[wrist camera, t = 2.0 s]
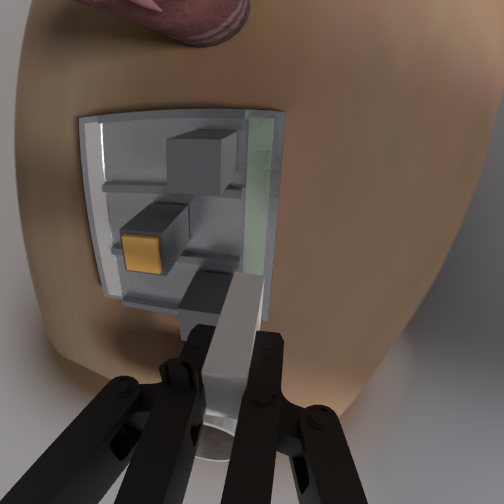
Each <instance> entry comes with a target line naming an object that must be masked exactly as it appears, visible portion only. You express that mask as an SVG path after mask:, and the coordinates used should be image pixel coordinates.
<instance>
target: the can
mask: <svg viewBox="0 0 504 504" xmlns="http://www.w3.org/2000/svg"><path fill="white" fill-rule="evenodd" d="M72 1H76V2H79V3H82V4H86V5H89V6H92V7H95V8H98V9H101V10H104V11H107V12H110V13H113V14H115V15H118V16H121V17H123V18H126V19H129V20H131V21H134V22H136V23H139V24H141V25H143V26H146V27H148V28H151V29H153V30H155V31H158V32H160V33H162V34H164V35H166V36H169V37H171V38H173V39H175V40H177V41H179V42H182V43H184V44H186V45H189V46H193V47H209V46H215V45H218V44H221V43H223V42H225V41H227V40H229V39H231V38H232V37H233V36H234V35H236V34H237V33H238V32H239V31H240V30H241V29H242V27H243V26H244V24H245V23H246V21H247V18H248V15H249V11H250V5H249V0H72Z"/></svg>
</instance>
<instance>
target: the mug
mask: <svg viewBox="0 0 504 504" xmlns="http://www.w3.org/2000/svg"><path fill="white" fill-rule="evenodd" d="M237 420H238V419H231V418H225V417H218V416H212V415H207V414H206V409H205V412H204V416H203V429H202V433H201V437H200V440H199V444H198V448H197V451H196V455H195V457H196V458H199V459H203V460H209V461H217V462H219V461H220V462H227V461H229V460H230V455H231V450H232V445H233V441H234V436H235V430H236V425H237Z"/></svg>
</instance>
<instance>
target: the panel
mask: <svg viewBox="0 0 504 504" xmlns="http://www.w3.org/2000/svg"><path fill="white" fill-rule="evenodd" d="M284 125H285V111H273V110H256V109H229V108H189V109H162V110H145V111H133V112H122V113H112V114H104V115H96V116H88V117H83V118H79V134H80V150H81V162H82V173H83V182H84V190H85V198H86V205H87V212H88V219H89V225H90V231H91V236H92V242H93V247H94V252H95V257H96V262H97V267H98V271H99V276H100V280H101V284H102V288H103V292H104V296H105V297H109V298H114V299H119V300H121V302H122V306H127V307H132V308H137V309H143V310H149V311H154V312H160V313H166V314H172V315H178V311H177V308H178V306H179V304H180V302H181V300H182V298H183V296H184V294H185V292H186V290H187V288H188V287H189V285H190V283H191V281H192V279H193V277H194V275H195V273H196V271H203V272H212V273H221V274H230V275H234V273H235V272H238V273H247V274H257V275H265V278H264V290H263V302H262V314H261V320H262V321H268V313H269V304H270V293H271V283H272V273H273V262H274V251H275V240H276V228H277V217H278V205H279V192H280V180H281V167H282V153H283V139H284ZM193 130H216V131H238V136H237V163H236V175H235V177H234V178H233V179H232V181H231V182H230V183H229V184H228V186H227V187H226V189H225V190H224V191H223V193H222V194H221V195H220V196H218V195H202V194H184V193H168V191H167V163H166V139H168V138H171V137H174V136H177V135H180V134H184V133H187V132H190V131H193ZM150 203H159V204H176V205H188V223H189V243H188V245H187V246H186V248H185V249H184V251H183V252H182V254H181V255H180V257H179V258H178V260H177V261H176V263H175V264H174V266H173V267H172V269H171V270H170V272H169V273H168V275H167V276H160V275H153V274H145V273H138V272H131V271H126V269H125V264H124V258H123V252H122V245H121V239H120V232H119V229H120V228H121V227H123V226H124V225H125V224H126V223H127V222H128V221H130V220H131V219H132V218H133V217H134V216H136V215H137V214H138V213H139V212H141V211H142V210H143V209H144V208H145V207H147V206H148V205H149V204H150Z"/></svg>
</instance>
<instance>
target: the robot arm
mask: <svg viewBox="0 0 504 504" xmlns="http://www.w3.org/2000/svg"><path fill="white" fill-rule="evenodd" d="M264 278H265V275H257V274H247V273H238V272H235V273H234V276H233V279H232V282H231V284H230V287H229V290H228V293H227V296H226V299H225V302H224V305H223V308H222V311H221V314H220V317H219V320H218V323H217V326H212V325H205V324H197V325H196V326H195V327H194V328H193V329H192V330H191V331H190V333H189V335H188V338H187V341H186V342H185V345H184V348H183V350H182V352H181V354H180V357H179V358H173V359H169V360H167V361H165V362H164V363H162V365H161V366H160V367H159V370H160V375H161V379H162V382H160V383H155V384H139V383H138V381H137V380H136V379H134V378H133V377H130V376H119V377H116V378H114V379H112V380H111V381H110V382H109V383H108V384H107V385H106V386H105V387H104V388H103V389H102V390H101V391H100V392H99V393H98V395H97V396H96V397H95V398H94V399H93V400H92V401H91V402H90V403H89V404H88V405H87V406H86V407H85V408H84V409H83V410H82V412H81V413H80V414H79V415H78V416H77V417H76V418H75V419H74V420H73V421H72V422H71V423H70V425H69V426H68V427H67V428H66V429H65V430H64V431H63V432H62V434H60V435H59V436H58V438H57V439H56V440H55V441H54V442H53V443H52V444H51V445H50V446H49V447H48V449H47V450H46V451H45V452H44V453H43V454H42V455H41V456H40V457H39V458H38V459H37V461H36V462H35V463H34V464H33V465H32V466H31V467H30V468H29V470H28V471H27V472H26V473H25V474H24V475H23V476H22V477H21V478H20V480H19V481H18V482H17V483H16V484H15V485H14V486H13V487H12V488H11V490H10V491H9V492H8V493H7V494H6V495H5V496H4V497H3V499H2V500H1V501H0V504H98V503H99V502H100V500H101V499H102V498H103V497H104V495H105V494H106V493H107V491H108V490H109V489H110V487H111V486H112V485H113V483H114V482H115V481H116V480H117V478H118V477H119V476H120V474H121V473H122V472H123V470H124V469H125V468H126V466H127V465H128V464H129V466H128V468H127V471H126V473H125V476H124V479H123V481H122V484H121V487H120V489H119V491H118V494H117V497H116V499H115V502H114V504H182V503H183V499H184V495H185V492H186V488H187V484H188V480H189V477H190V473H191V470H192V465H193V462H194V459H195V455H196V451H197V448H198V444H199V440H200V437H201V433H202V429H203V416H204V412H205V409H206V414H207V415H212V416H218V417H225V418H231V419H238V420H237V425H236V430H235V436H234V441H233V445H232V450H231V455H230V460H229V466H228V471H227V475H226V480H225V485H224V489H223V494H222V499H221V504H270V503H271V494H272V486H273V477H274V468H275V459H276V451H278V452H280V453H283V454H286V455H288V456H289V460H290V464H291V469H292V473H293V477H294V482H295V487H296V491H297V495H298V500H299V504H368V502H367V499H366V496H365V494H364V490H363V487H362V484H361V481H360V479H359V476H358V473H357V470H356V467H355V464H354V461H353V458H352V456H351V453H350V450H349V447H348V444H347V441H346V439H345V435H344V433H343V430H342V427H341V424H340V422H339V419H338V416H337V415H336V413H335V411H333V410H332V409H331V408H329V407H327V406H324V405H312V406H309V407H307V408H303V407H300V406H297V405H295V404H292V403H290V402H289V401H288V400H287V399H286V398H285V397H284V396H283V394H282V391H281V379H282V365H283V350H284V341H283V339H282V337H281V335H280V333H276V332H266V331H259V329H260V322H261V314H262V302H263V290H264ZM129 462H130V463H129Z"/></svg>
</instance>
